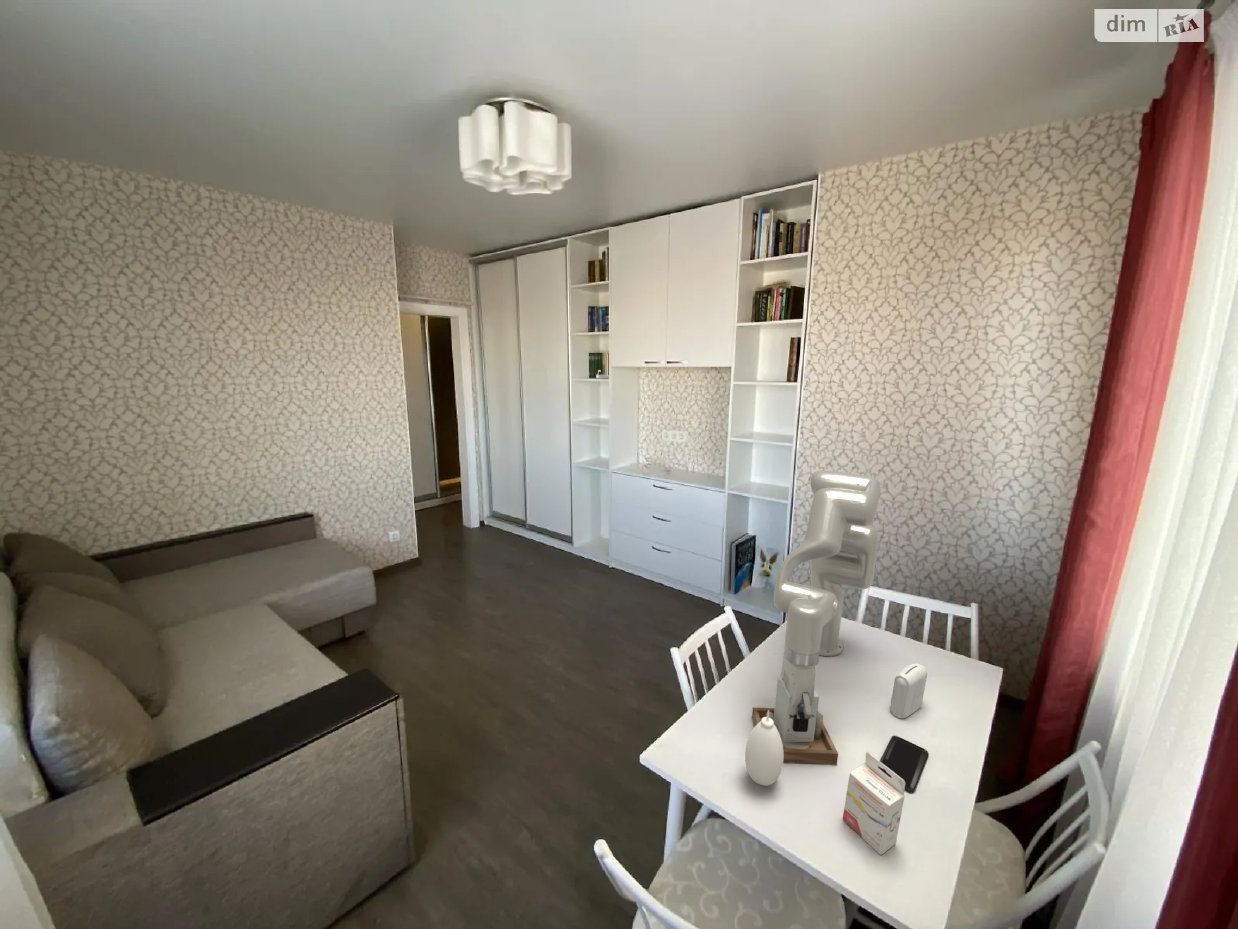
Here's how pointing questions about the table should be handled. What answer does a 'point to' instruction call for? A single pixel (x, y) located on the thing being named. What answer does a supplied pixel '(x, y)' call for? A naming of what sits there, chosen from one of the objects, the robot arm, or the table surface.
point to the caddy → (804, 743)
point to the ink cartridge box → (874, 804)
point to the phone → (904, 761)
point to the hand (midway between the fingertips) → (794, 717)
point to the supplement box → (792, 715)
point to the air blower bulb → (764, 752)
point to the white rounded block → (908, 690)
